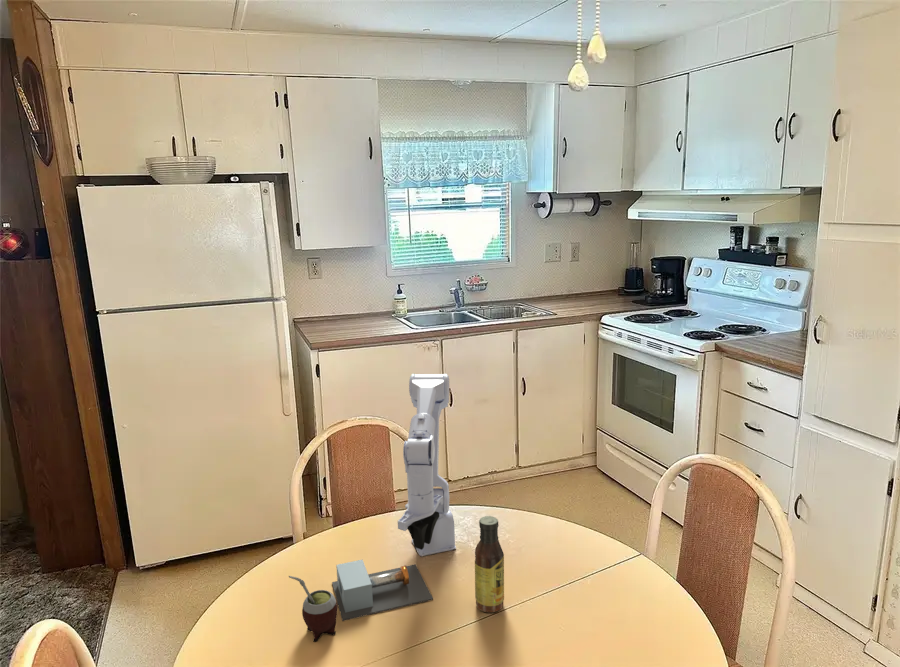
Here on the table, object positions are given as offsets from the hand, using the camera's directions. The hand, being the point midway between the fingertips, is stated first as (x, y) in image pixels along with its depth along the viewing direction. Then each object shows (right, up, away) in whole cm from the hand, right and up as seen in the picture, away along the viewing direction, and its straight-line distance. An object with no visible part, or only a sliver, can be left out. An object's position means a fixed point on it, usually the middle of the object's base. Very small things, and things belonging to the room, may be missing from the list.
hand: (422, 545), depth 144 cm
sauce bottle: (+15, -11, -6) cm, 20 cm away
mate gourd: (-20, -14, -14) cm, 28 cm away
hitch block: (-15, -11, -3) cm, 19 cm away
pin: (-9, -9, -1) cm, 13 cm away
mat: (-9, -10, -1) cm, 14 cm away
